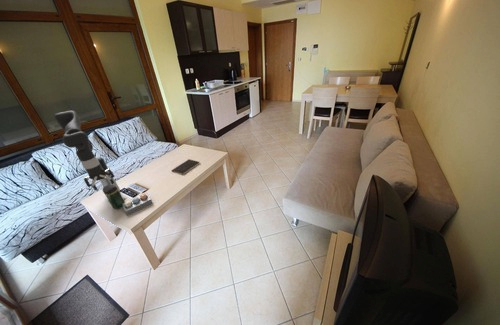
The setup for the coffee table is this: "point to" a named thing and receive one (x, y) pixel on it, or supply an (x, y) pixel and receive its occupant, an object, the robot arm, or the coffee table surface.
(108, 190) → the coffee jar
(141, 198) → the button rust
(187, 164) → the hardcover book
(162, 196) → the coffee table surface
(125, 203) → the button cream
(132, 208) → the console
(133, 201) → the button slate
